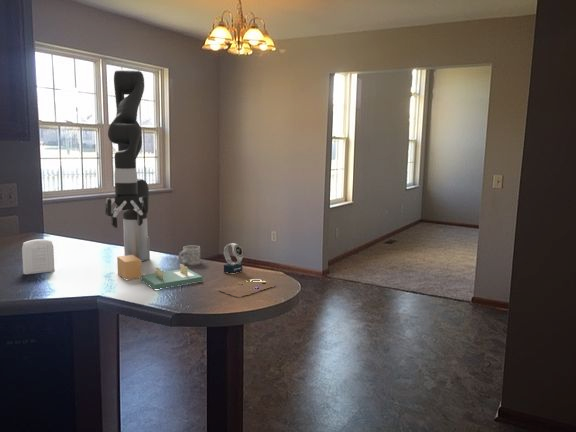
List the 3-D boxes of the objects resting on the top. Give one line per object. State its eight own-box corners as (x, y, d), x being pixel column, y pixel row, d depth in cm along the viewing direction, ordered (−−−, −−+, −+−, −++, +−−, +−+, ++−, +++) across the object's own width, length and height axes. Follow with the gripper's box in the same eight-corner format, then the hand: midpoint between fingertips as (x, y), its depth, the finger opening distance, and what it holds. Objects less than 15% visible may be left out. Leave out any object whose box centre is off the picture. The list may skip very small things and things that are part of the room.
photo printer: (53, 269, 180) (51, 237, 178) (55, 271, 177) (53, 239, 175) (22, 272, 175) (20, 239, 173) (24, 275, 171) (21, 242, 169)
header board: (186, 273, 178) (186, 260, 177) (202, 282, 167) (202, 268, 166) (141, 280, 168) (141, 266, 167) (155, 290, 157) (155, 275, 156)
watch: (236, 275, 176) (236, 246, 174) (220, 271, 181) (220, 243, 179) (246, 272, 181) (246, 243, 179) (230, 268, 185) (230, 241, 183)
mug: (192, 260, 197) (192, 244, 196) (203, 262, 193) (203, 246, 192) (173, 265, 189) (173, 248, 188) (185, 268, 185) (184, 251, 184)
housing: (133, 271, 179) (132, 254, 178) (141, 277, 171) (141, 259, 170) (117, 273, 176) (117, 256, 174) (125, 279, 168) (125, 262, 167)
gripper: (142, 179, 175) (143, 223, 178) (102, 180, 167) (103, 226, 169) (149, 181, 169) (150, 226, 172) (108, 182, 161) (110, 230, 163)
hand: (127, 226), depth 171 cm, fingers open, 8 cm apart
